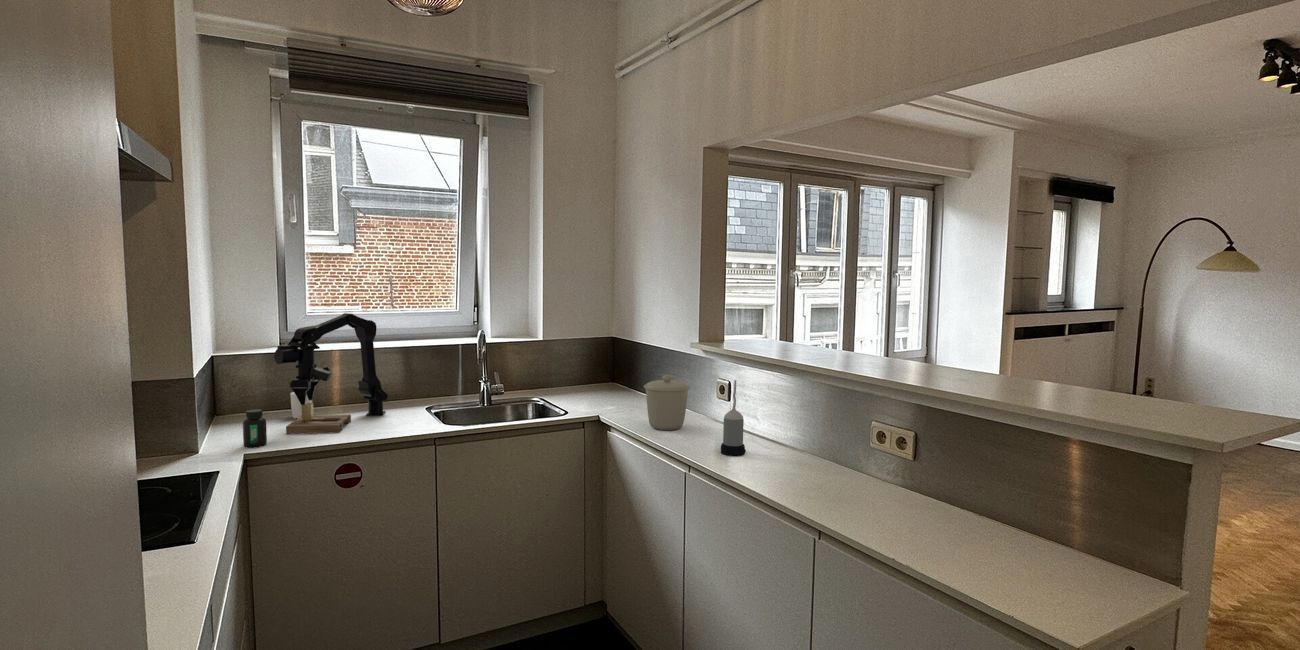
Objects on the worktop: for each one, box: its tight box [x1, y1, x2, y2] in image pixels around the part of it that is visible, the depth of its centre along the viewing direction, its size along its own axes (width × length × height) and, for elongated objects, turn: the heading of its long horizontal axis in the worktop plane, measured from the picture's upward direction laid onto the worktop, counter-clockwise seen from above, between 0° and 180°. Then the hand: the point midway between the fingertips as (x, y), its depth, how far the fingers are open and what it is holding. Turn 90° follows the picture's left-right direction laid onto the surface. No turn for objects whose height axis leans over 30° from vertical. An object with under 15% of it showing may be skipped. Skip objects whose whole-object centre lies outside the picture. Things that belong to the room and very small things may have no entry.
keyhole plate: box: [285, 413, 352, 435], centre depth 249 cm, size 18×18×3 cm
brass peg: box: [301, 402, 314, 421], centre depth 248 cm, size 4×4×9 cm
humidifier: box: [720, 379, 747, 457], centre depth 221 cm, size 8×8×25 cm
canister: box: [643, 373, 691, 431], centre depth 257 cm, size 18×18×21 cm
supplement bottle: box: [242, 408, 268, 449], centre depth 222 cm, size 7×7×12 cm
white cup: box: [289, 391, 313, 419], centre depth 265 cm, size 8×8×10 cm
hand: (306, 402), depth 247 cm, fingers open, 9 cm apart
